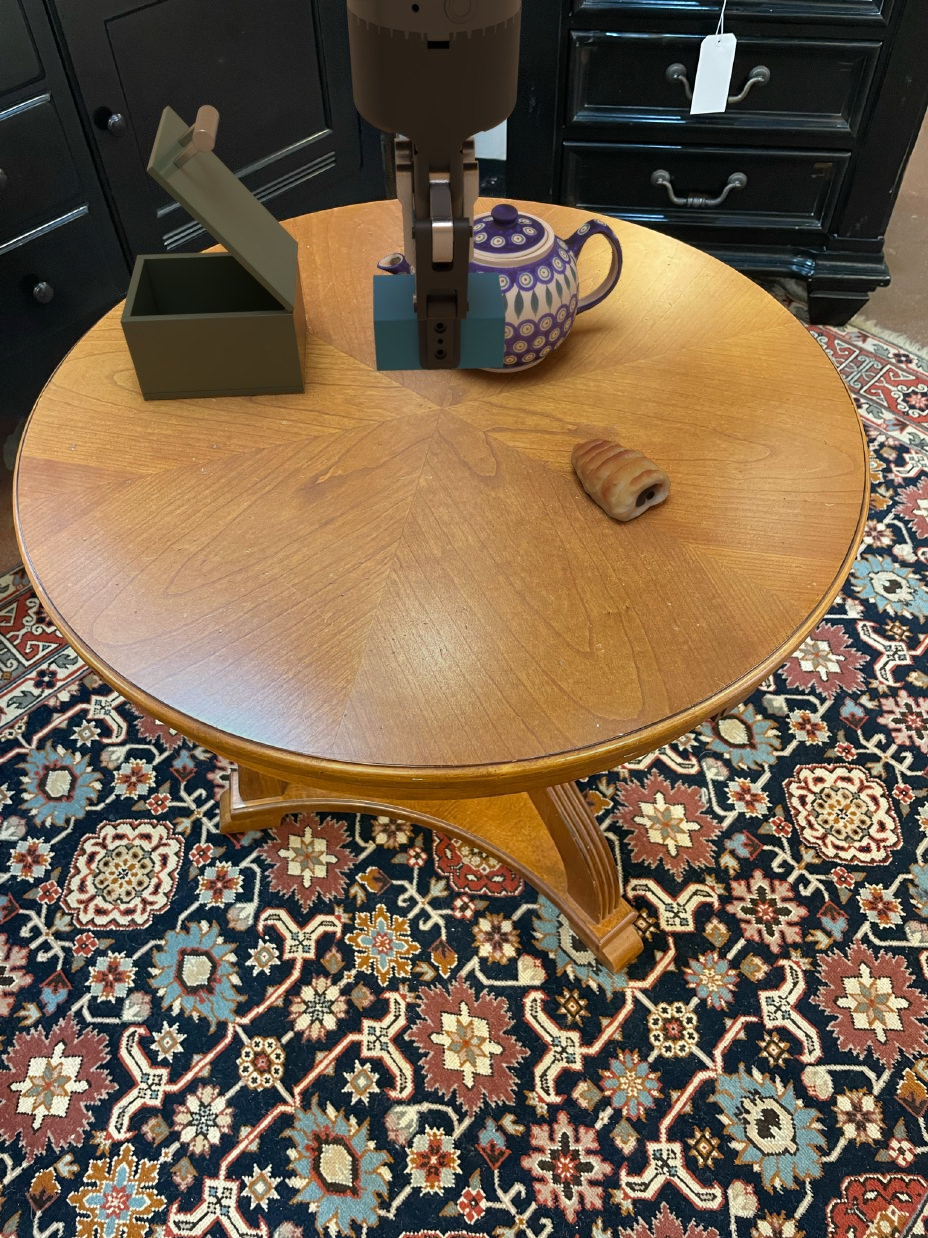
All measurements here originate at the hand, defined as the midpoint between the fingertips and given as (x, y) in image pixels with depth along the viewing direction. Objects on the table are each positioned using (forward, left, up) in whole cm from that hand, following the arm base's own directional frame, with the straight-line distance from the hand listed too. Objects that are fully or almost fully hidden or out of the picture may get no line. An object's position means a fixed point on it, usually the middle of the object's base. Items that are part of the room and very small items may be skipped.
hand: (437, 337), depth 54 cm
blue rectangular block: (0, 0, -1) cm, 1 cm away
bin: (-19, +38, -27) cm, 50 cm away
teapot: (+9, +39, -27) cm, 48 cm away
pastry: (+17, +16, -27) cm, 36 cm away
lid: (-17, +38, -11) cm, 43 cm away
